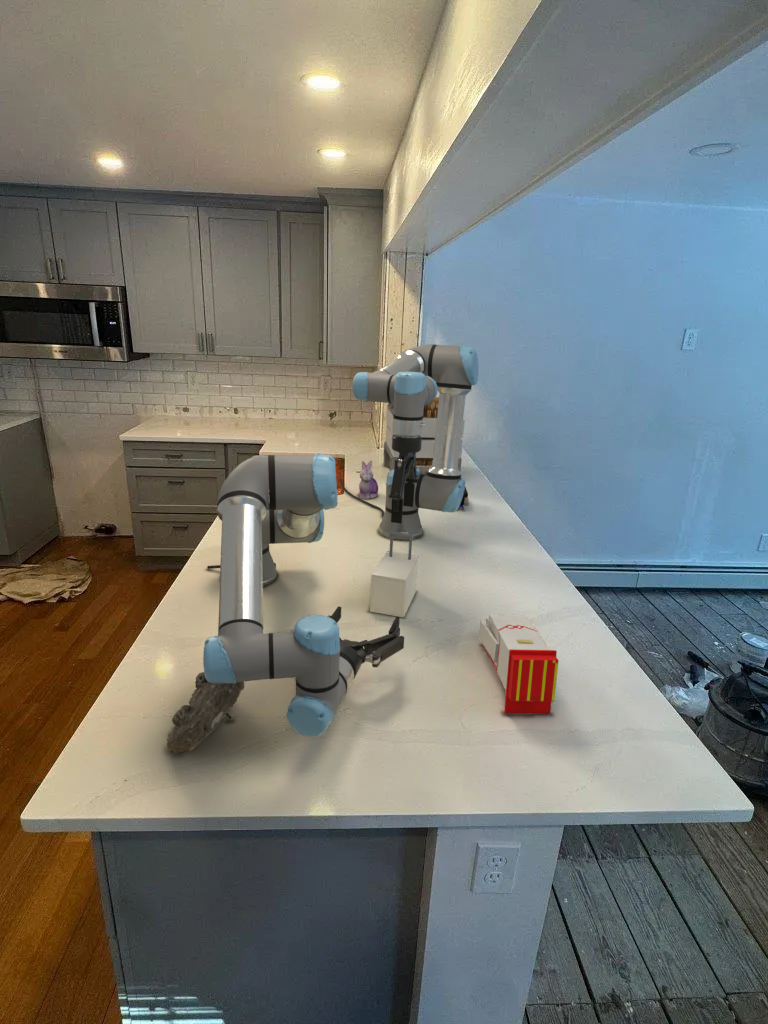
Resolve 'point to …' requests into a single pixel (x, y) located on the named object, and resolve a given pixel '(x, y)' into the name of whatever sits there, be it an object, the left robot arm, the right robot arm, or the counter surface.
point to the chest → (392, 594)
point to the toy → (521, 662)
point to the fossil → (202, 713)
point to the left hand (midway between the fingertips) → (368, 616)
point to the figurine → (367, 482)
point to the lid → (396, 561)
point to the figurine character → (464, 499)
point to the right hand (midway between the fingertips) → (402, 514)
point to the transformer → (428, 435)
